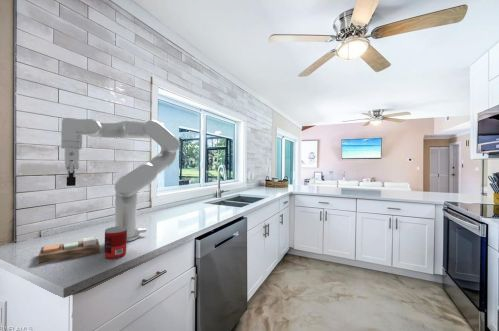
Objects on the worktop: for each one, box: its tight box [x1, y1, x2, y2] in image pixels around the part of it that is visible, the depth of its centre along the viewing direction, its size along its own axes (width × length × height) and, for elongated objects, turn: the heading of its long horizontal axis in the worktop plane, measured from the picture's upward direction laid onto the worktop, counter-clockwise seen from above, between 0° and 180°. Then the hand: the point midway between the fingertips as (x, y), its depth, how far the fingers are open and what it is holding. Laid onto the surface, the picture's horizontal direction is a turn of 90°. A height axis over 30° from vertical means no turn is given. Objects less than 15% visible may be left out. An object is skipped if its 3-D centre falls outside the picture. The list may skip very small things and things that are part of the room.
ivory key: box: [82, 236, 97, 246], centre depth 98 cm, size 5×5×3 cm
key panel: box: [37, 238, 101, 265], centre depth 94 cm, size 19×11×3 cm, turn 128°
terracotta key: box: [43, 244, 59, 253], centre depth 90 cm, size 5×5×3 cm
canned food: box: [103, 226, 128, 260], centre depth 93 cm, size 8×8×11 cm
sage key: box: [63, 241, 79, 249], centre depth 94 cm, size 5×5×3 cm
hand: (71, 185), depth 104 cm, fingers closed
